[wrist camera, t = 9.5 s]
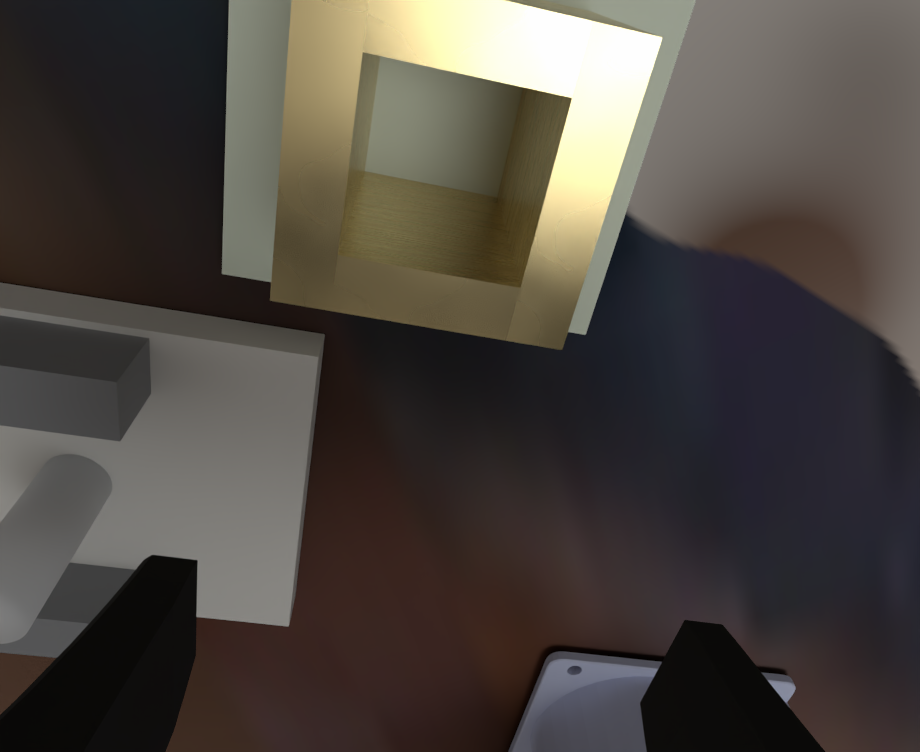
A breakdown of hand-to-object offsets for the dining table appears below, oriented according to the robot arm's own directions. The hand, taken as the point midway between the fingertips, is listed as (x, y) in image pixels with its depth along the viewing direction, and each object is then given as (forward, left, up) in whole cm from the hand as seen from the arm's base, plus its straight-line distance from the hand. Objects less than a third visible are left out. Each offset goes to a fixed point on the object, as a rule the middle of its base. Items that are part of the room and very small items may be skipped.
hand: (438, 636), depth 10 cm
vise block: (+9, +5, -9) cm, 14 cm away
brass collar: (+1, -6, -9) cm, 10 cm away
